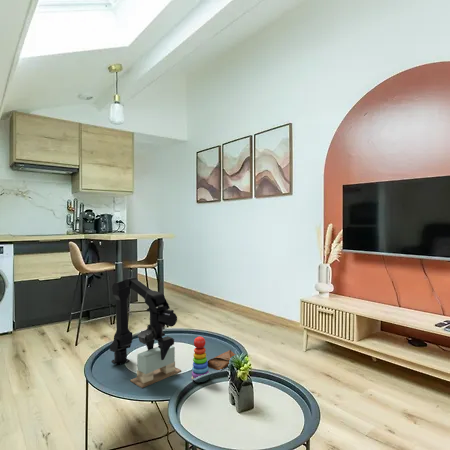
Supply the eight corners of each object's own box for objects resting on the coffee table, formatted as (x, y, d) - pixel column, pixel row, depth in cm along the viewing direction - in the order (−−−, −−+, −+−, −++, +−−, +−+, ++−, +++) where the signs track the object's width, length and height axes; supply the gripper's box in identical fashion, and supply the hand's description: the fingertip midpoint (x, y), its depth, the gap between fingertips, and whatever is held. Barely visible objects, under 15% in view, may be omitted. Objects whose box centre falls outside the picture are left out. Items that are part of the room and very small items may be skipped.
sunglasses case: (220, 371, 152) (214, 357, 154) (210, 375, 156) (204, 361, 158) (242, 358, 166) (237, 345, 168) (233, 362, 170) (227, 350, 172)
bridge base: (130, 381, 143) (130, 370, 143) (169, 365, 158) (169, 356, 158) (141, 388, 137) (141, 377, 137) (181, 371, 152) (181, 361, 152)
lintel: (137, 370, 144) (137, 354, 143) (166, 358, 156) (166, 343, 156) (145, 374, 140) (145, 357, 140) (174, 361, 152) (174, 346, 152)
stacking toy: (210, 376, 148) (210, 334, 148) (208, 384, 140) (208, 340, 140) (193, 375, 148) (193, 333, 148) (189, 383, 141) (189, 340, 140)
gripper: (129, 321, 148) (129, 356, 148) (153, 331, 135) (153, 369, 135) (150, 316, 156) (150, 349, 156) (174, 325, 143) (175, 360, 144)
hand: (156, 357), depth 148 cm, fingers open, 9 cm apart
